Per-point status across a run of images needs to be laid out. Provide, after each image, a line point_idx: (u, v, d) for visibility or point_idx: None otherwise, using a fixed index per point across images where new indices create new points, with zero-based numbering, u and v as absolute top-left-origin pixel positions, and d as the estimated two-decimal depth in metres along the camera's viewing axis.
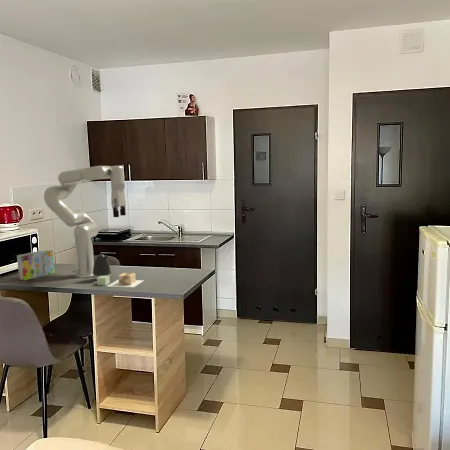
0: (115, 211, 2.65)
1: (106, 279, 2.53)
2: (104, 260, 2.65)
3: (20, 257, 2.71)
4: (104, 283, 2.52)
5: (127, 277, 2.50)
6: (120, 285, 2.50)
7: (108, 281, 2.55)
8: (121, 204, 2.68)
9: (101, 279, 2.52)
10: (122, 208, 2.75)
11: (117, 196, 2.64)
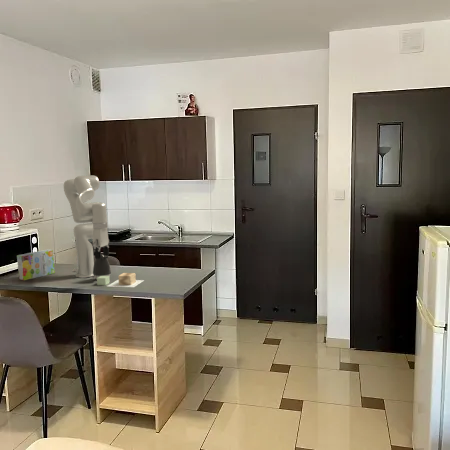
0: (97, 252, 2.46)
1: (106, 279, 2.53)
2: (104, 260, 2.65)
3: (20, 257, 2.71)
4: (104, 283, 2.52)
5: (127, 277, 2.50)
6: (120, 285, 2.50)
7: (108, 281, 2.55)
8: (103, 244, 2.50)
9: (101, 279, 2.52)
10: (105, 248, 2.56)
11: (99, 236, 2.46)
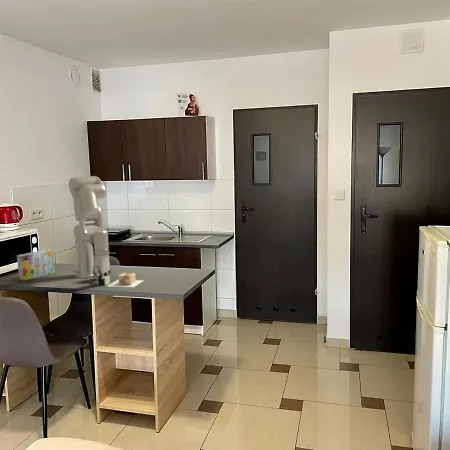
0: (100, 280, 2.50)
1: (106, 279, 2.52)
2: None
3: (20, 257, 2.71)
4: (104, 283, 2.52)
5: (127, 277, 2.50)
6: (120, 285, 2.50)
7: (108, 281, 2.55)
8: (105, 271, 2.52)
9: None
10: (105, 275, 2.56)
11: (101, 263, 2.48)
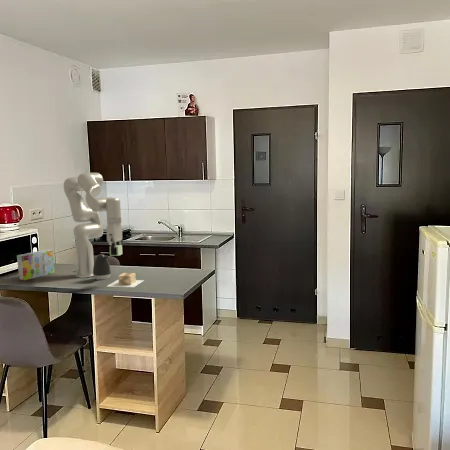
0: (113, 248, 2.48)
1: (119, 248, 2.50)
2: (104, 260, 2.65)
3: (20, 257, 2.71)
4: (117, 251, 2.49)
5: (127, 277, 2.50)
6: (120, 285, 2.50)
7: (121, 250, 2.52)
8: (117, 239, 2.49)
9: None
10: (117, 244, 2.54)
11: (113, 231, 2.46)
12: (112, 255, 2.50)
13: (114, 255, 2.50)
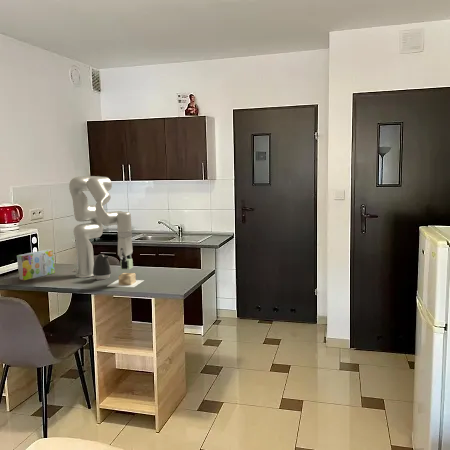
0: (123, 262, 2.49)
1: (129, 261, 2.51)
2: (104, 260, 2.65)
3: (20, 257, 2.71)
4: (127, 265, 2.50)
5: (127, 277, 2.50)
6: (120, 285, 2.50)
7: (131, 264, 2.54)
8: (128, 253, 2.51)
9: None
10: (128, 258, 2.55)
11: (124, 245, 2.47)
12: None
13: None
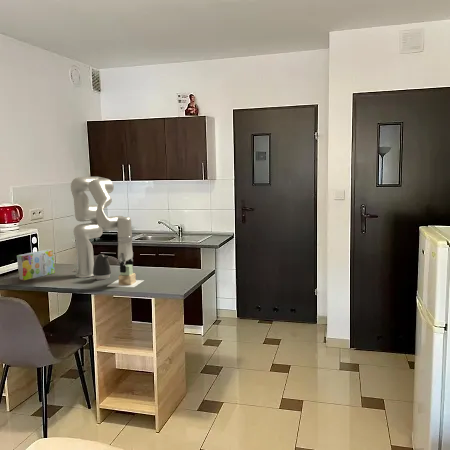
0: (122, 266, 2.47)
1: (129, 267, 2.52)
2: (104, 260, 2.65)
3: (20, 257, 2.71)
4: (128, 271, 2.51)
5: (127, 277, 2.50)
6: (120, 285, 2.50)
7: (131, 270, 2.54)
8: (128, 258, 2.51)
9: None
10: (129, 261, 2.58)
11: (124, 250, 2.47)
12: (123, 275, 2.52)
13: (125, 275, 2.51)
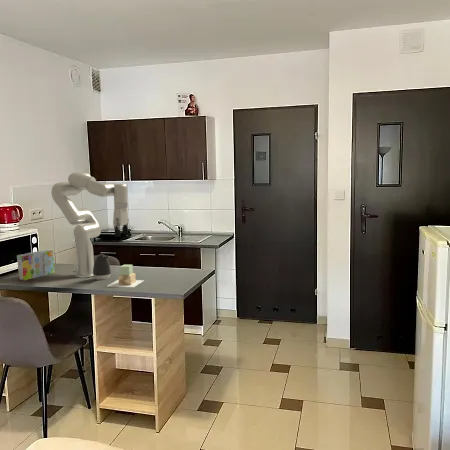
0: (117, 230, 2.59)
1: (129, 267, 2.52)
2: (104, 260, 2.65)
3: (20, 257, 2.71)
4: (128, 271, 2.51)
5: (127, 277, 2.50)
6: (120, 285, 2.50)
7: (131, 270, 2.54)
8: (123, 223, 2.62)
9: (125, 267, 2.51)
10: (124, 226, 2.69)
11: (119, 215, 2.59)
12: (123, 275, 2.52)
13: (125, 275, 2.51)
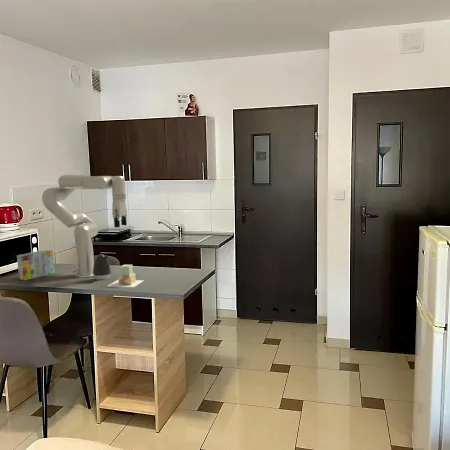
0: (116, 221, 2.66)
1: (129, 267, 2.52)
2: (104, 260, 2.65)
3: (20, 257, 2.71)
4: (128, 271, 2.51)
5: (127, 277, 2.50)
6: (120, 285, 2.50)
7: (131, 270, 2.54)
8: (122, 214, 2.69)
9: (125, 267, 2.51)
10: (123, 218, 2.76)
11: (118, 206, 2.66)
12: (123, 275, 2.52)
13: (125, 275, 2.51)
